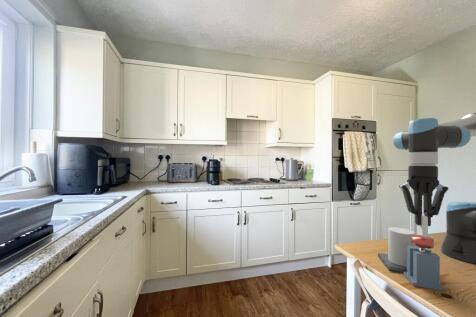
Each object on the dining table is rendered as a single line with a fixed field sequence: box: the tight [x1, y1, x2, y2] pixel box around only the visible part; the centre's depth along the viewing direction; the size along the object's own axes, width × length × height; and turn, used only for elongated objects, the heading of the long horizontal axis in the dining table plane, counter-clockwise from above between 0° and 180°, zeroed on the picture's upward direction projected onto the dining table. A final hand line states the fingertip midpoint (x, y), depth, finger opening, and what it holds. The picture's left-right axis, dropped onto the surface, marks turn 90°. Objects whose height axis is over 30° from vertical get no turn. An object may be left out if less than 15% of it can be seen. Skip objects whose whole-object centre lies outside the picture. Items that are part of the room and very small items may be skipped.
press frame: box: [402, 246, 445, 291], centre depth 71 cm, size 8×7×10 cm
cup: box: [387, 226, 416, 267], centre depth 82 cm, size 8×8×12 cm
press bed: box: [377, 252, 407, 274], centre depth 82 cm, size 12×12×2 cm
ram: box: [412, 234, 435, 252], centre depth 71 cm, size 6×6×10 cm
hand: (422, 235), depth 71 cm, fingers closed
